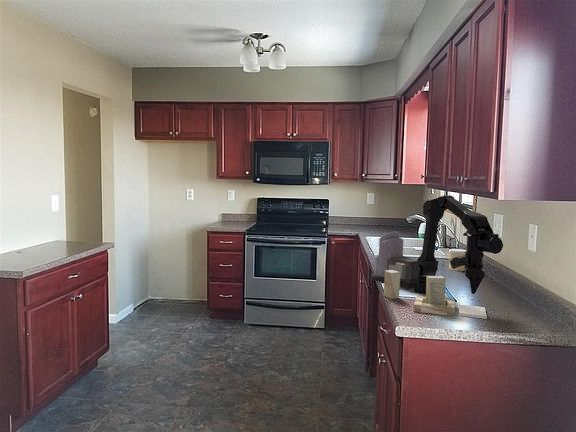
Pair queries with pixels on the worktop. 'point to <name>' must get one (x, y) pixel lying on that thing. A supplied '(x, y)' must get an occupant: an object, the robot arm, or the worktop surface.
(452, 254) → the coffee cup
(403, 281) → the juicer
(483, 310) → the tile
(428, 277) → the skincare box
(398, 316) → the worktop surface
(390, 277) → the box
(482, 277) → the robot arm
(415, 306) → the frame
